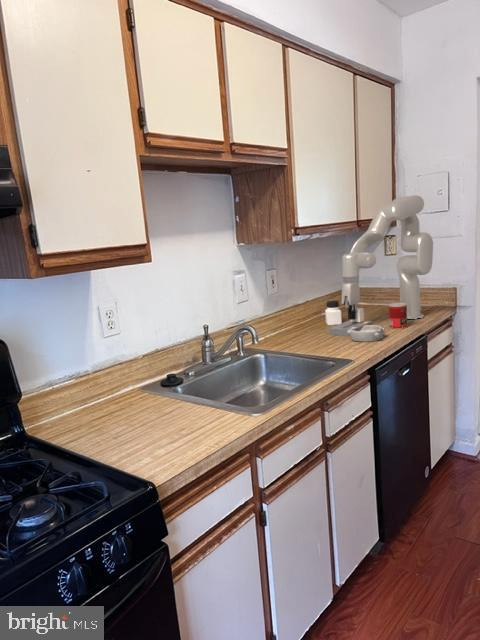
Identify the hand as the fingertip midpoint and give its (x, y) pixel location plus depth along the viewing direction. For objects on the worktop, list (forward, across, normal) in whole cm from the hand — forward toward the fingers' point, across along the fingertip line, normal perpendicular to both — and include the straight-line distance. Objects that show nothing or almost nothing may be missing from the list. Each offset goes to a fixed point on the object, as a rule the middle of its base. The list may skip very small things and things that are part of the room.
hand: (351, 319), depth 224 cm
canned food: (+5, -12, +17) cm, 22 cm away
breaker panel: (+5, +1, 0) cm, 6 cm away
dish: (+6, +13, +14) cm, 20 cm away
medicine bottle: (+6, -12, -17) cm, 21 cm away
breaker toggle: (+2, -5, 0) cm, 5 cm away
